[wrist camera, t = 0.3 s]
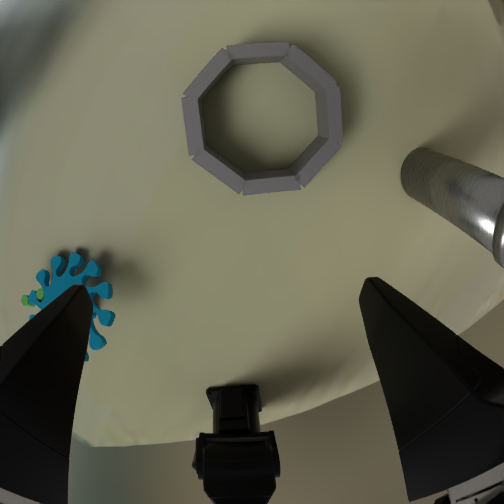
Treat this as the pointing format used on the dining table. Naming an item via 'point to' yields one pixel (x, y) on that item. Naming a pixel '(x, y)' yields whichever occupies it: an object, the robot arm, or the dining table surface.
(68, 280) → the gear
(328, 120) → the collar
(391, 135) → the dining table surface
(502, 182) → the metal canister
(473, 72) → the dining table surface
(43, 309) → the robot arm
